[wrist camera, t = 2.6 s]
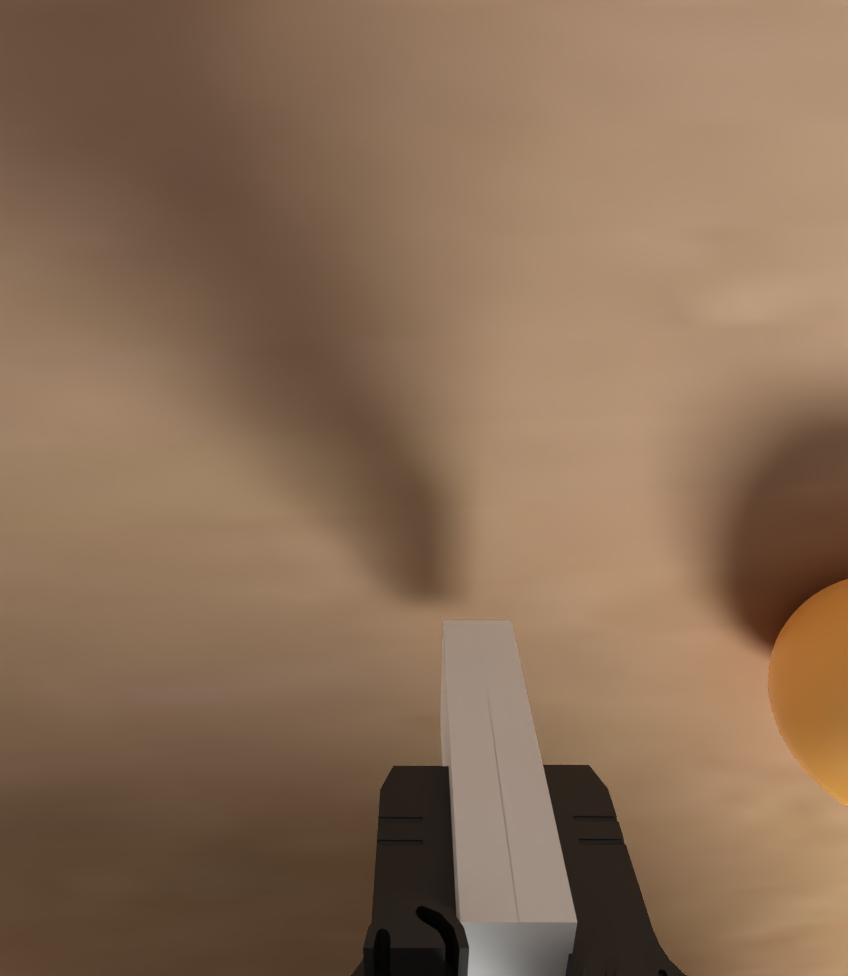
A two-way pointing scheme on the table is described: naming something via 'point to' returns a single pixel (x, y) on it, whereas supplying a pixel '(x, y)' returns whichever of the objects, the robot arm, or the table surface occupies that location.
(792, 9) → the table surface
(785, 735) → the ball
